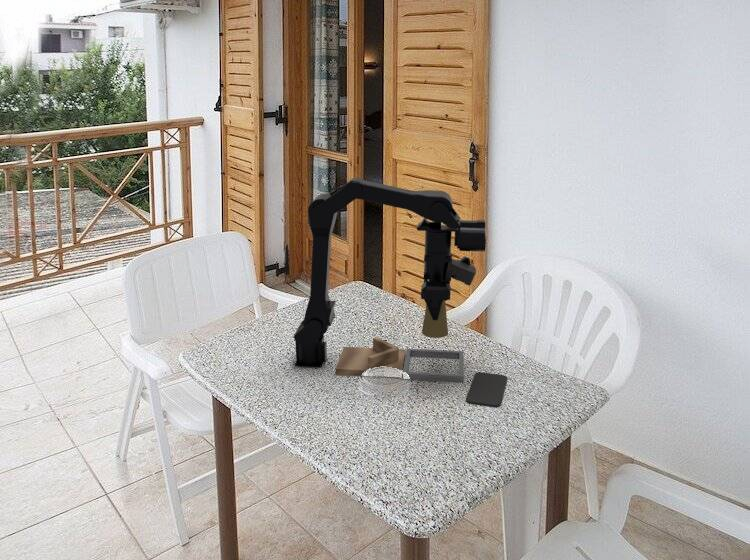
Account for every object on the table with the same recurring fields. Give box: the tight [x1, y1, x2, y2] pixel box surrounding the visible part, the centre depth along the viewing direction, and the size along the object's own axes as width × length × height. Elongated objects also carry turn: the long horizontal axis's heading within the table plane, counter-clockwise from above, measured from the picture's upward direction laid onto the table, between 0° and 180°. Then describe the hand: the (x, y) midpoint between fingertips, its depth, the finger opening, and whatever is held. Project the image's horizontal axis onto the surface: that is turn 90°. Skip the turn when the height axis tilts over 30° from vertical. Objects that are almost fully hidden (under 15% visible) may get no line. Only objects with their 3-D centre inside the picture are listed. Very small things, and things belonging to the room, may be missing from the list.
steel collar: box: [403, 348, 465, 383], centre depth 166 cm, size 14×14×2 cm
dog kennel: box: [335, 336, 407, 377], centre depth 167 cm, size 15×12×4 cm
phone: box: [465, 371, 508, 408], centre depth 156 cm, size 7×1×15 cm
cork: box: [421, 300, 449, 339], centre depth 162 cm, size 6×6×11 cm
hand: (435, 316), depth 162 cm, fingers closed on cork, 4 cm apart
